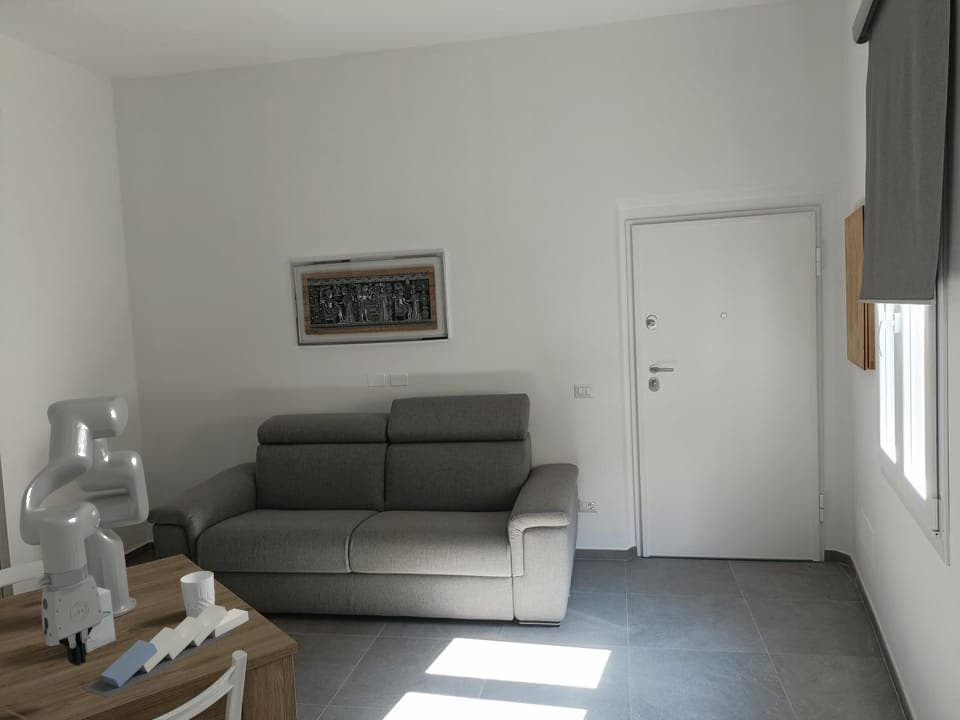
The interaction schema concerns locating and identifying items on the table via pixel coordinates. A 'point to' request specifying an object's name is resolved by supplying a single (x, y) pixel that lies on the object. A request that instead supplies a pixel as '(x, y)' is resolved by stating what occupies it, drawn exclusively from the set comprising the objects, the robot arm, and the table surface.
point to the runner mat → (111, 690)
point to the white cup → (197, 592)
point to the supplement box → (102, 624)
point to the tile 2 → (162, 646)
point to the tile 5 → (230, 622)
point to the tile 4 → (209, 622)
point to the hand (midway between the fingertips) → (77, 662)
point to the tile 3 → (186, 634)
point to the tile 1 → (129, 663)
